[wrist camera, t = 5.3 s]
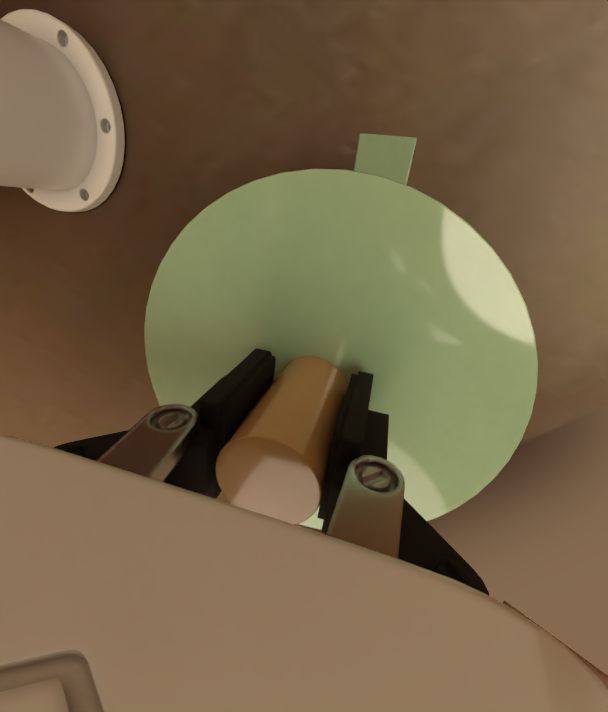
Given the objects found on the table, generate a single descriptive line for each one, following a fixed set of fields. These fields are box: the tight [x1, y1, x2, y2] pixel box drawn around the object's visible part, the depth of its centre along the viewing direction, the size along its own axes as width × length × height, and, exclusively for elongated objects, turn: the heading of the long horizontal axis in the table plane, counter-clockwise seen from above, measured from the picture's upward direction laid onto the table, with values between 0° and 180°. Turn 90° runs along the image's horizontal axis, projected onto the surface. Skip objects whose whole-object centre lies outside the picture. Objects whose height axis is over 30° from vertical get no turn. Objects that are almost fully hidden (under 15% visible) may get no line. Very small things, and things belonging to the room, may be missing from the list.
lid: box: [144, 169, 538, 529], centre depth 11 cm, size 15×15×6 cm
